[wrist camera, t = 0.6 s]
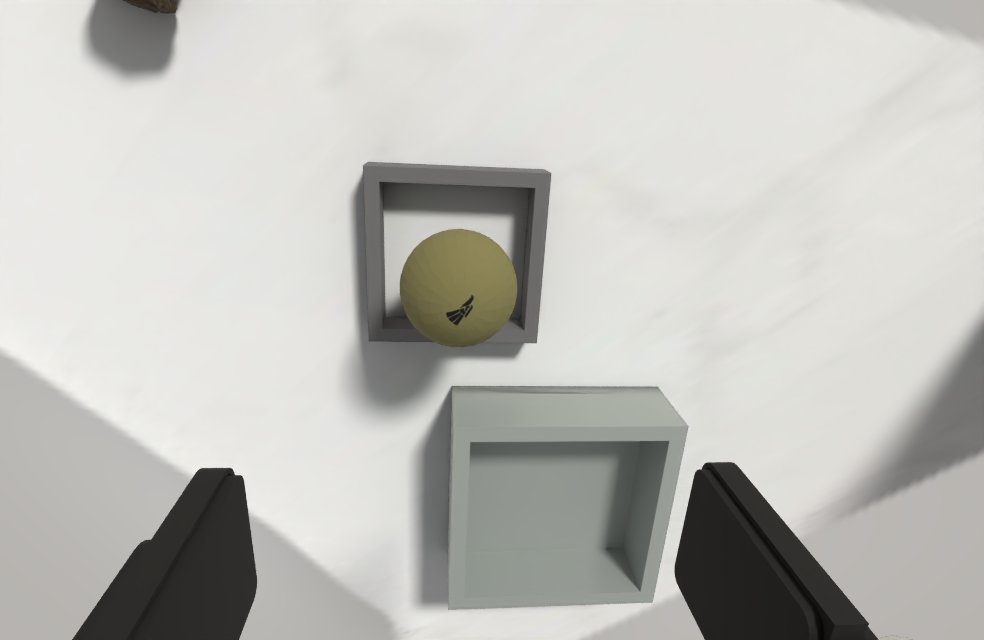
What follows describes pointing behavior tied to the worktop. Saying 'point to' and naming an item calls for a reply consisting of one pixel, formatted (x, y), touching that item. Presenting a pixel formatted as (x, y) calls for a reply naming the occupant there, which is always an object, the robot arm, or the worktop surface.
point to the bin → (559, 494)
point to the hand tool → (155, 5)
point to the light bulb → (458, 288)
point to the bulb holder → (454, 175)
